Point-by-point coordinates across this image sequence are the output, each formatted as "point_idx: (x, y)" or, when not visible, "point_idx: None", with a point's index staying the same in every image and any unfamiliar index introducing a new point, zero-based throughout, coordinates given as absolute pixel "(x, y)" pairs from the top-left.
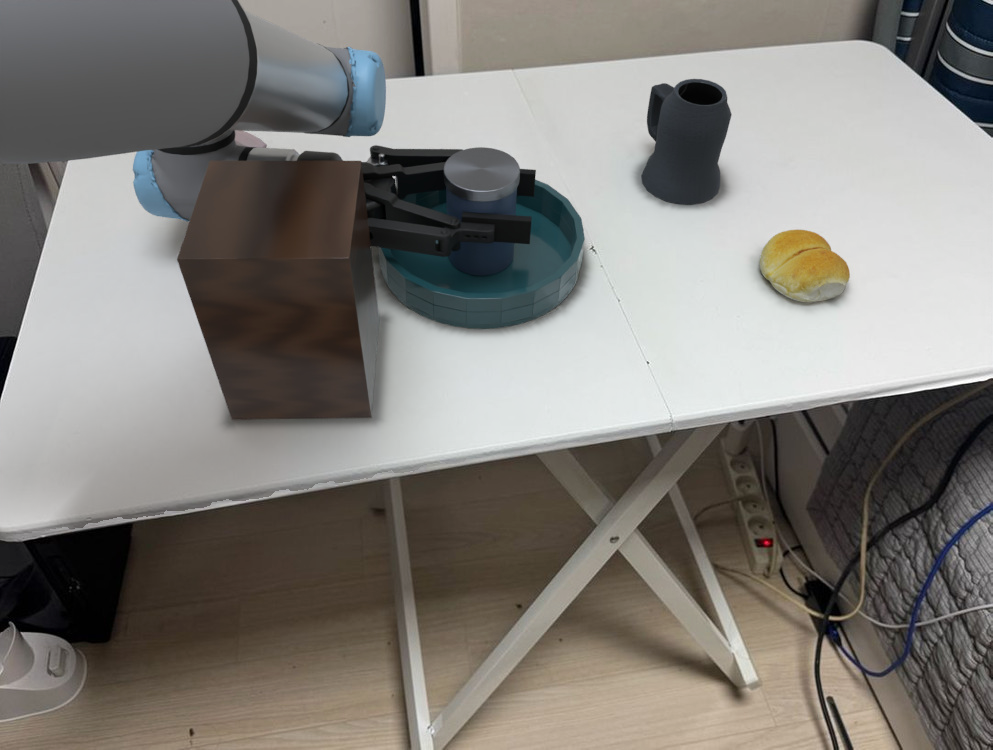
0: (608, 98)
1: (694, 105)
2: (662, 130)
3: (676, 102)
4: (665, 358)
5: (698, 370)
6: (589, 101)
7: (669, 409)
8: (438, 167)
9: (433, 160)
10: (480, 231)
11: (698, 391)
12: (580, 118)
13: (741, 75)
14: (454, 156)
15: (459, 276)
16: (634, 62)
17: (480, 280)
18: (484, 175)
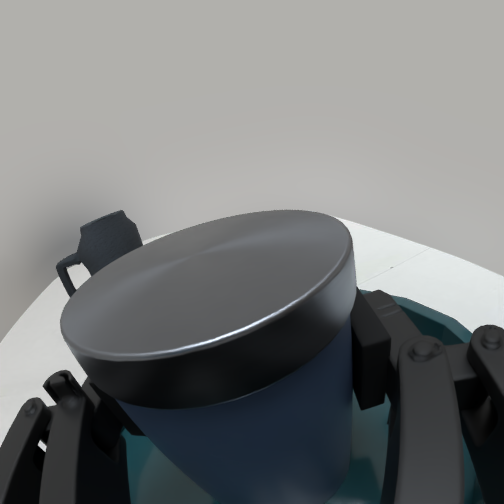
0: (21, 348)
1: (115, 214)
2: (109, 257)
3: (101, 225)
4: (379, 262)
5: (377, 250)
6: (16, 358)
7: (425, 249)
8: (62, 473)
9: (25, 484)
10: (398, 308)
11: (397, 246)
12: (27, 364)
13: (52, 296)
14: (81, 333)
15: (362, 474)
16: (6, 336)
17: (359, 436)
18: (239, 239)
